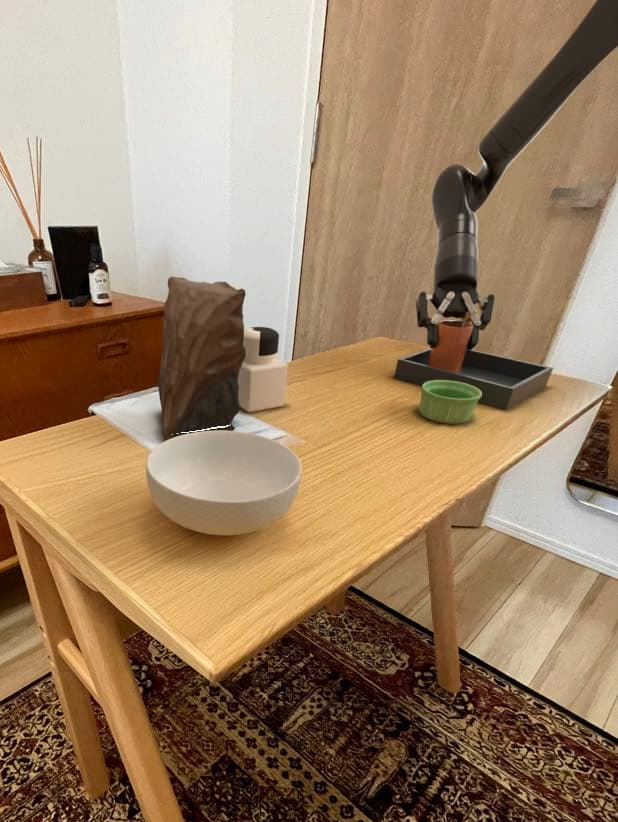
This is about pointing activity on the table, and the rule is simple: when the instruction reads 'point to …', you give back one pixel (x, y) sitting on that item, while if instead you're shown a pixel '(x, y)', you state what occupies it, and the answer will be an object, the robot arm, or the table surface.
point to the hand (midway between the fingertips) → (452, 346)
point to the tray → (481, 376)
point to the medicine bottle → (261, 371)
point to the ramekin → (448, 401)
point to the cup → (450, 345)
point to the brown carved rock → (200, 356)
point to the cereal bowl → (223, 481)
